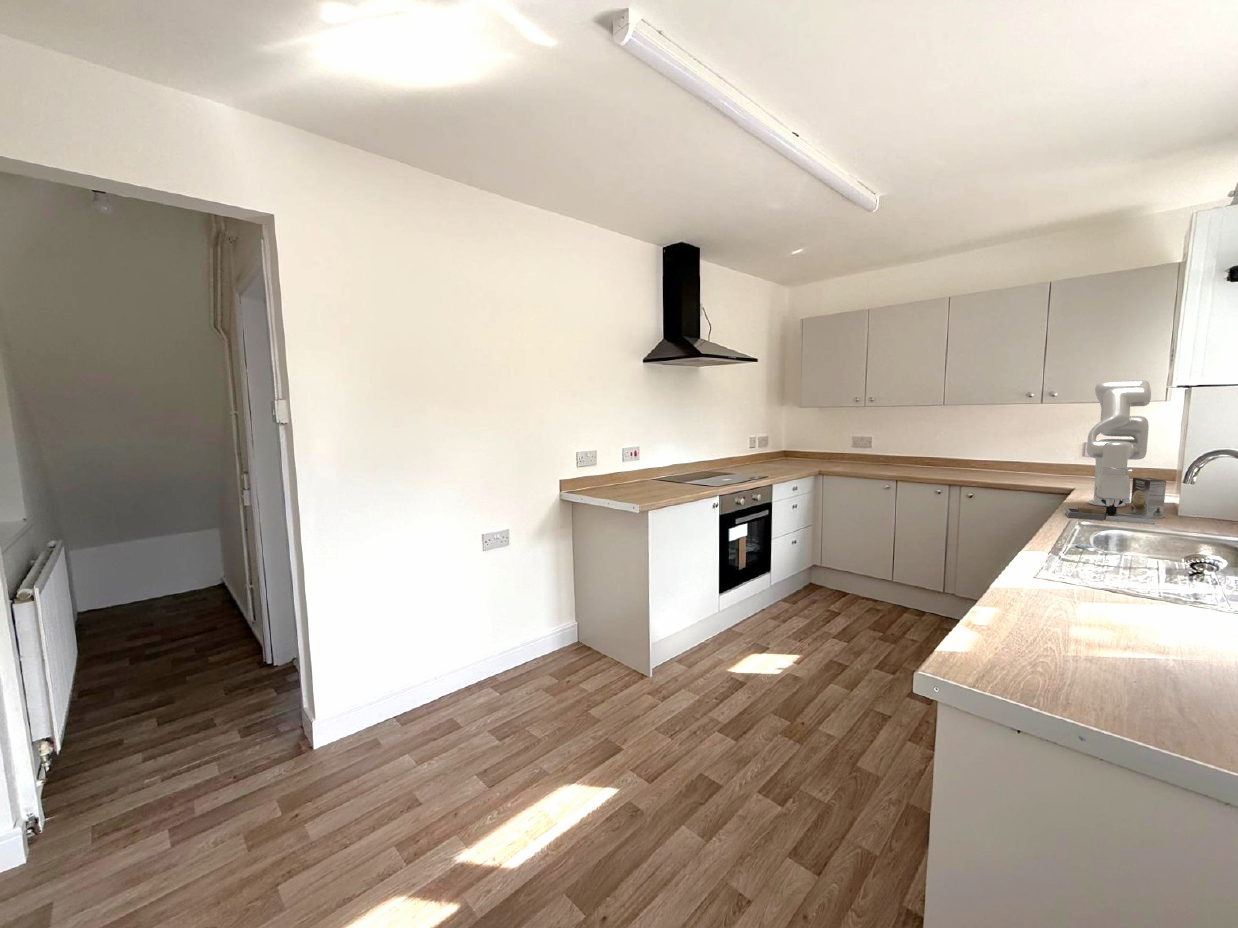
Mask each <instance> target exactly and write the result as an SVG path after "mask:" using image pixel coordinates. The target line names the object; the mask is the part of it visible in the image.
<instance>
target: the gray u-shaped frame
mask: <svg viewBox="0 0 1238 928" xmlns="http://www.w3.org/2000/svg"><path fill="white" fill-rule="evenodd" d="M1064 510H1065V511H1064V513H1065V515H1066V516H1067V518H1068V519H1080V520H1081V519H1082V520H1093V521H1094V520H1095V521H1103V520H1104V519H1103V514H1090V513H1078V508H1073V507H1065V509H1064Z"/></svg>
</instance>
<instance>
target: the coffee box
mask: <svg viewBox="0 0 1238 928" xmlns="http://www.w3.org/2000/svg"><path fill="white" fill-rule="evenodd" d="M1166 488H1167V480H1165V479H1159V478H1153V477H1133V478H1132V488H1131V495H1130V497H1131V498H1130V510H1129V512H1130V513H1129V514H1135V515H1149V516H1150V519H1163V518H1164V508H1165V500H1166V499H1165V498H1166Z"/></svg>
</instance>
